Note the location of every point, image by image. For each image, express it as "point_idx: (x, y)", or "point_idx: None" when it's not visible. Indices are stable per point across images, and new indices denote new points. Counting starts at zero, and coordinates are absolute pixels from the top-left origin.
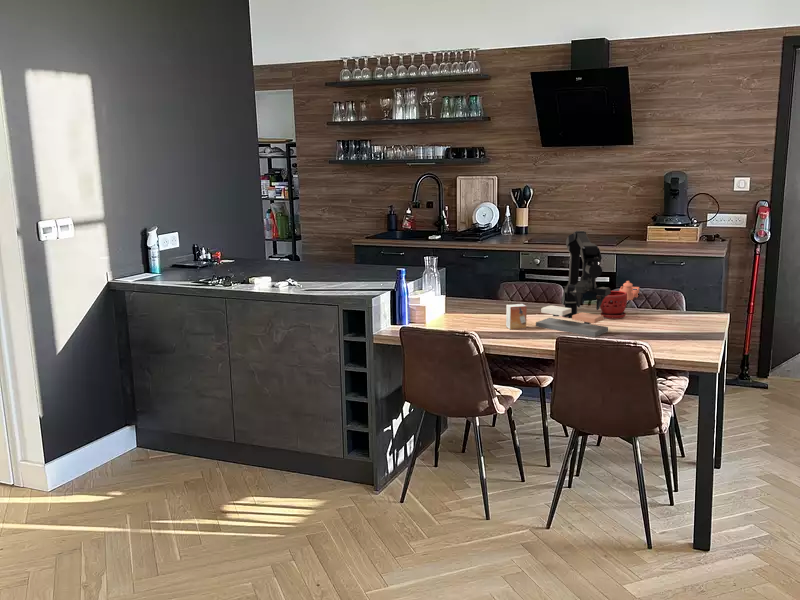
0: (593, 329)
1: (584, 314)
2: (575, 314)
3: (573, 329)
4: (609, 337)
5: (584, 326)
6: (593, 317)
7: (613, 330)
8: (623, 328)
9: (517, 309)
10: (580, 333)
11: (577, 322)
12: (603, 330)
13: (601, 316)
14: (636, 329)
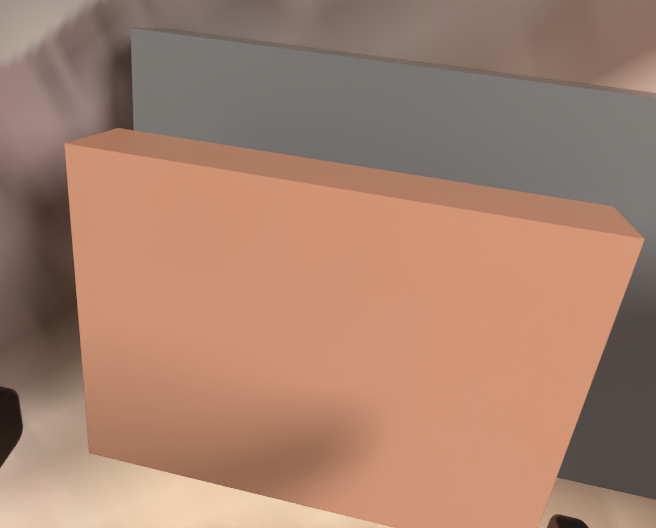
0: None
1: (402, 419)
2: (586, 353)
3: (517, 80)
4: (15, 96)
5: None
6: (141, 249)
7: None
8: (114, 510)
9: None
10: (386, 58)
11: (572, 465)
12: None
13: (86, 394)
14: (16, 511)
